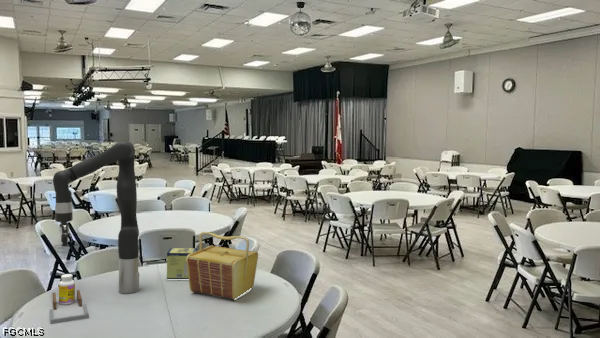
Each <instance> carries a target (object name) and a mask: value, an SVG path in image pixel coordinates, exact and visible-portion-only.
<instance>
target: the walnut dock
mask: <svg viewBox="0 0 600 338" xmlns="http://www.w3.org/2000/svg"><path fill="white" fill-rule="evenodd" d="M56 295H57V294H56V292H53V293H52V309H53V311H57V307H58V306H57V296H56ZM76 300H77V303H78V304H77V305H78V307H83V305H82V304H83V298H82V295H81V291H80V289H76Z"/></svg>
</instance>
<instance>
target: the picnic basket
mask: <svg viewBox="0 0 600 338" xmlns="http://www.w3.org/2000/svg"><path fill="white" fill-rule="evenodd" d="M203 235H211V237H213V238H216V239H218V240H219V239H220V240H225V241H226V240H227V241H230V240H235V239H242V240H245V242H246V245H245V246H246V247H245V250H244V249H235V248H229V247H222V246H215V245H209V246H206V247H204V248H203V241H202V237H203ZM198 242H199V249H197V251H196V252H193V253H190V254H189V255H188V256H187V257H186V265H187V272H188V279H189V281H188V285H189V290H190V292H191V293H198V294H199V293H200V294H203V293H204V295H208V296H214V295H215V297H219V296H220V297H221V298H224V297H225V299H230V298H231V300H233V299H235V298H237V297H238V296H240V295H241V294H243V293H244V292H246V291H247V290H249V289H250V288H252V287H253V288H254V286H255V285H254V284H255V279H256V273H257V266H258V261H259V260H258V259H259V253H258V252H257V251H250V250H249V248H250V241H249V239H248V238H247V237H245V236H237V235H235V236H234V235H233V236H223V235H220V234H217V233H214V232H213V233H212V232H209V231H202V232H200V233H199V235H198ZM253 288H252V289H253Z"/></svg>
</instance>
